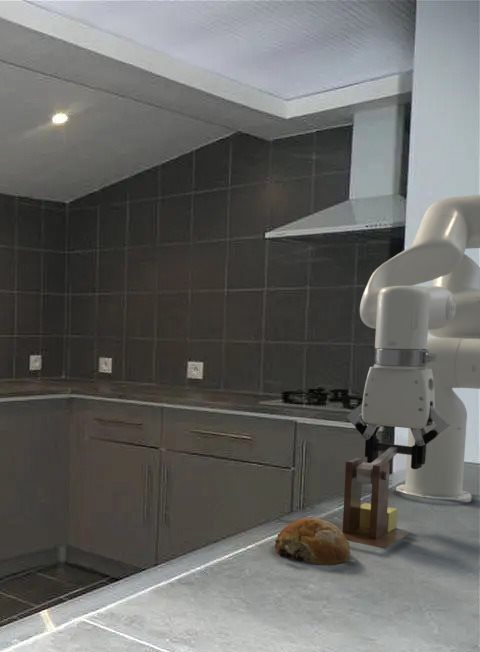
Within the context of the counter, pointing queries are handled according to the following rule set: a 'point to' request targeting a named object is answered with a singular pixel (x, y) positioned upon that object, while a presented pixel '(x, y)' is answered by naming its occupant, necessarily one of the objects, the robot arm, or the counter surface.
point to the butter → (366, 511)
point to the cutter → (378, 507)
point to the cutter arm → (380, 460)
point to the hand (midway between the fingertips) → (393, 464)
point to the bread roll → (313, 542)
